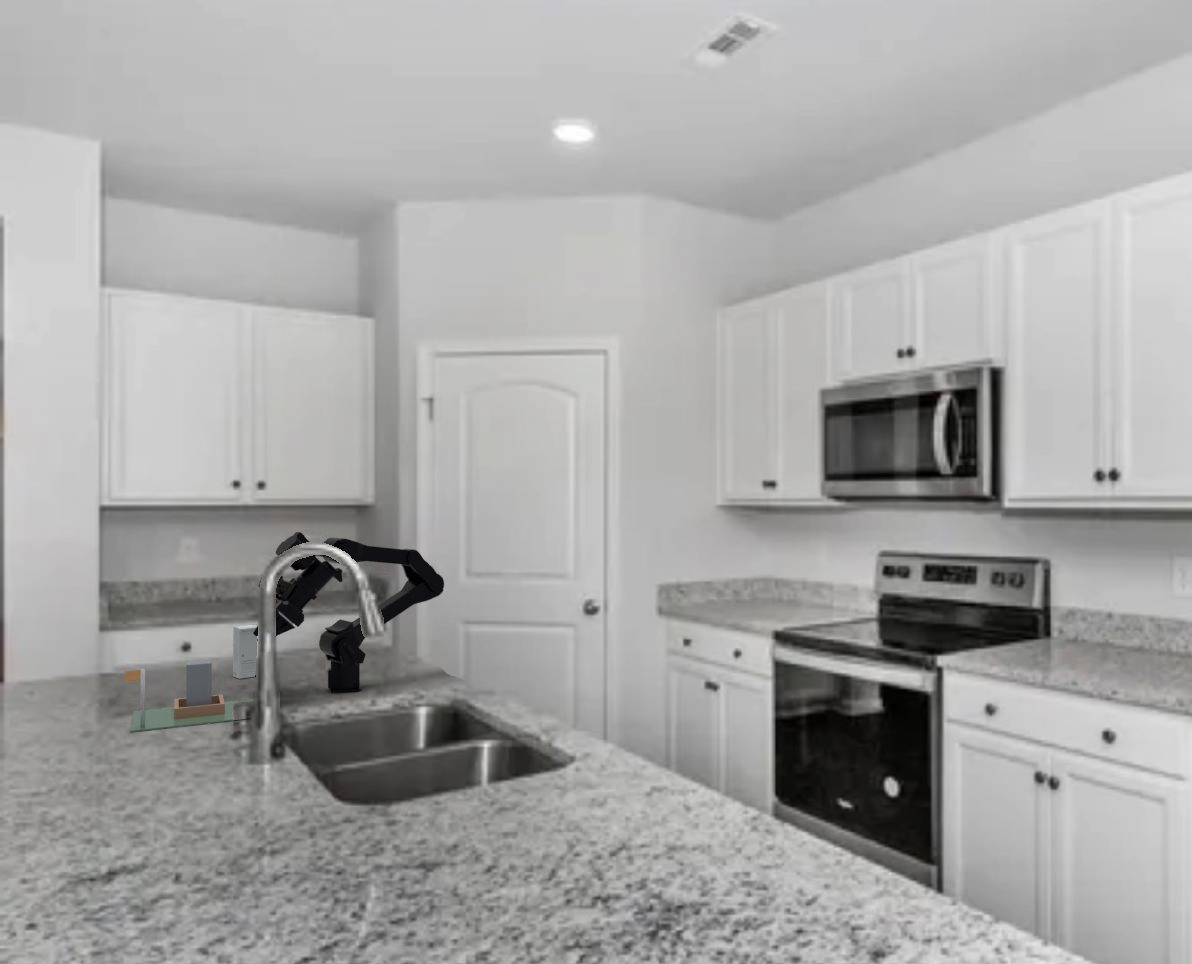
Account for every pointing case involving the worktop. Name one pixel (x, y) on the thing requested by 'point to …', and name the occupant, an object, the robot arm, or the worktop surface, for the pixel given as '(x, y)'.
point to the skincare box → (244, 651)
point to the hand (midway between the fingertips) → (256, 638)
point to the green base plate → (177, 710)
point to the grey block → (198, 682)
